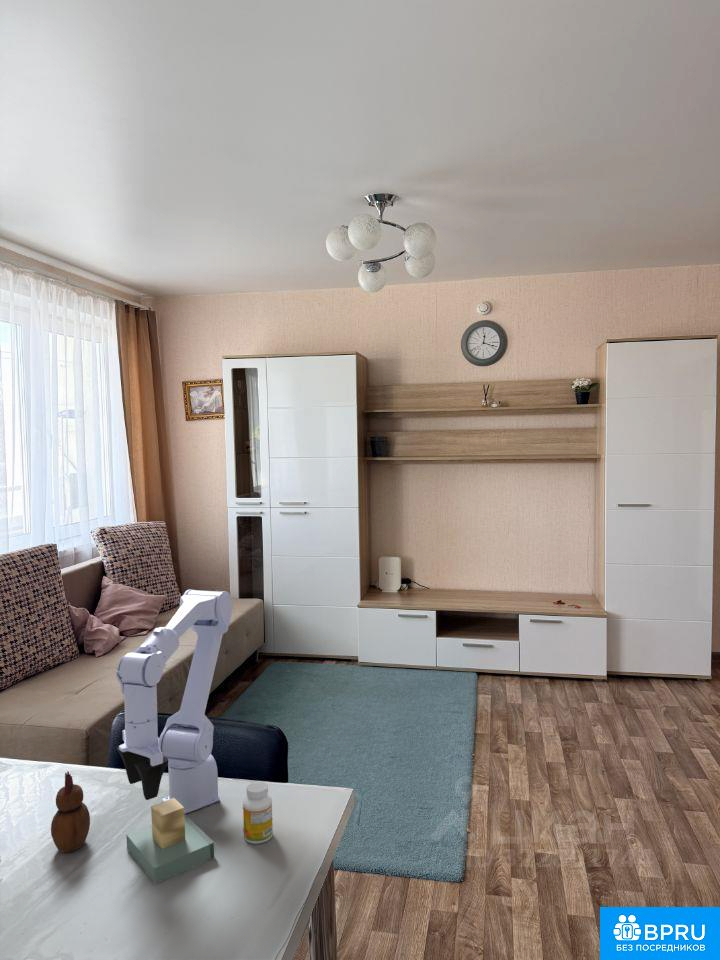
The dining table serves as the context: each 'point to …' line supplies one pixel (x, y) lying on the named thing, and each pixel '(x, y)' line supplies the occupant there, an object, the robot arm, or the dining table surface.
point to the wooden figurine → (70, 817)
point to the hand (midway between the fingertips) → (143, 789)
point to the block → (168, 823)
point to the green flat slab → (170, 851)
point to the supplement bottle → (257, 813)
